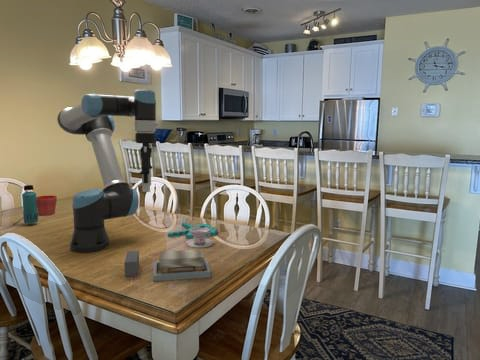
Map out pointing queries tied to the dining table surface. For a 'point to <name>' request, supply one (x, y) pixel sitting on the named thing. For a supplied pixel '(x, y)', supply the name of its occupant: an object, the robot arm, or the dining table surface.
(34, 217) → the beverage bottle
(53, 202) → the flower pot
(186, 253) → the grey flat block
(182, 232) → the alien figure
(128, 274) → the block
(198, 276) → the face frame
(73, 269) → the dining table surface
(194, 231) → the teacup
